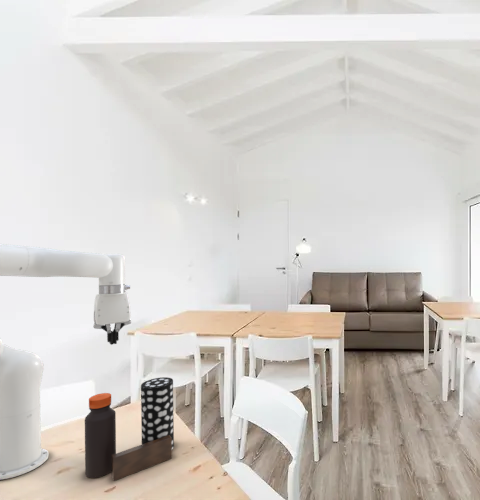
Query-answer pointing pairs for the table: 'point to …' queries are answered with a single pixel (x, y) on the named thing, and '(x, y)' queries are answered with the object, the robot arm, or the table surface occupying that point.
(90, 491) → the table surface
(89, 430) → the bottle
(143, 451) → the bar
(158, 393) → the white-spotted black cylinder
